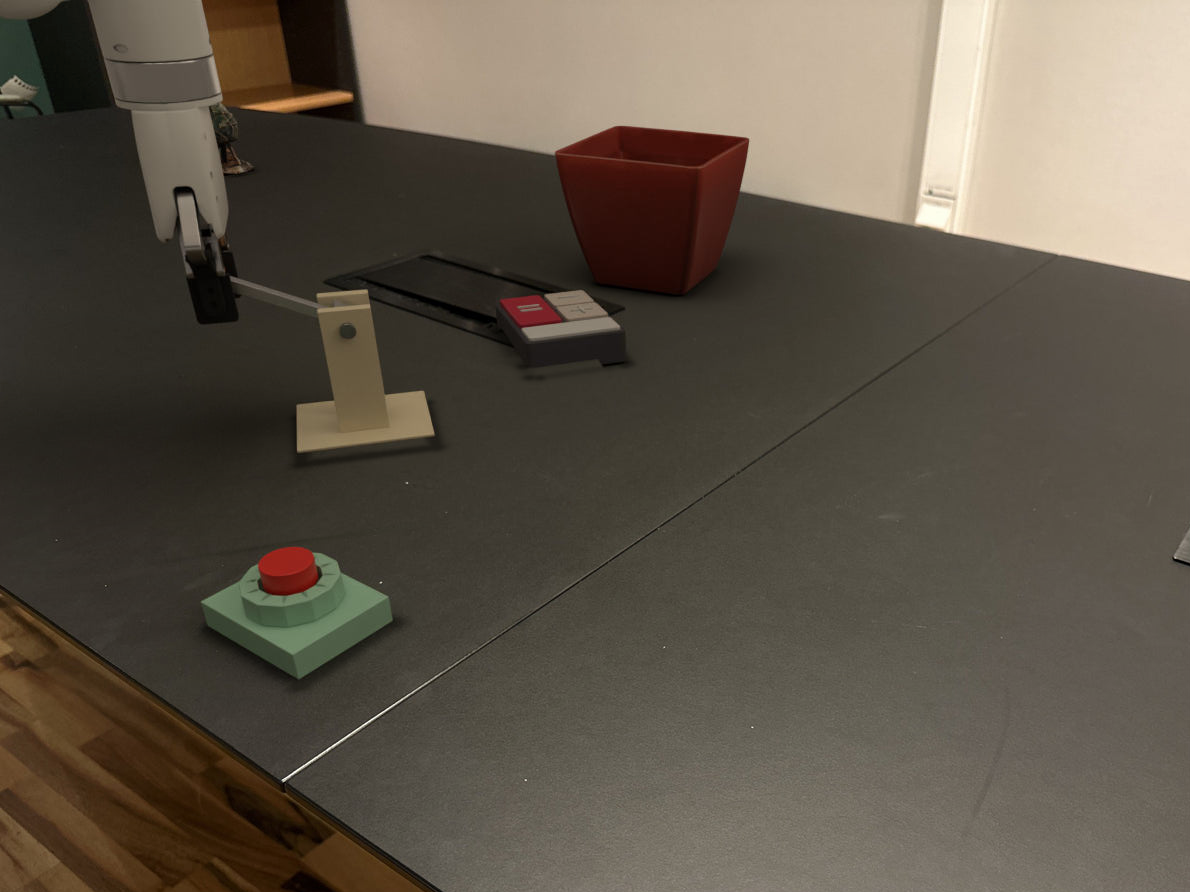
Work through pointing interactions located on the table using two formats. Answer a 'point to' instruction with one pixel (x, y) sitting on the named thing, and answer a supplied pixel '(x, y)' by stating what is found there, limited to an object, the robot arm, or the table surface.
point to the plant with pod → (227, 139)
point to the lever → (280, 298)
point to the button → (288, 571)
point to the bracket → (357, 386)
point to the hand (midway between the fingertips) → (220, 307)
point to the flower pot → (652, 203)
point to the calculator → (561, 329)
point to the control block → (298, 617)
